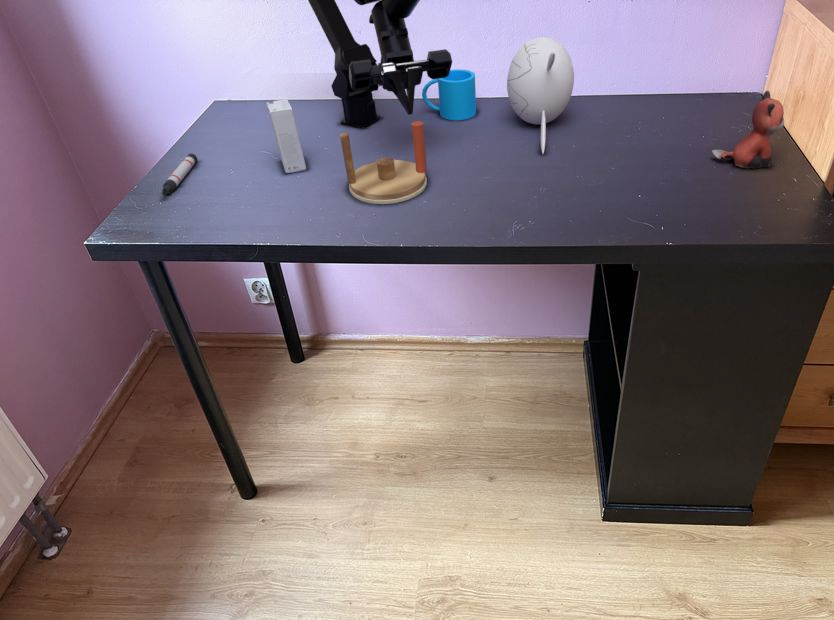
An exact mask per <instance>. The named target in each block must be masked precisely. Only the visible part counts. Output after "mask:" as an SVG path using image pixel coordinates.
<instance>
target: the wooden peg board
mask: <svg viewBox="0 0 834 620" xmlns="http://www.w3.org/2000/svg"><path fill="white" fill-rule="evenodd" d="M411 132H412V133H411V134H412V143H413V151H414V153H413V154H414V162H412V161H408V160H402V159H394V158H392V157H381V158H379V159H377V160H376V161H374V162H371V163H367V164H364V165H362V166H360V167H359V168H358V167H357V168H356V169H355V166H354V159H353V153H352V147H351V141H350V134H349V133H348V132H342V133H340V134H339V138H340V145H341V149H342V157H343V161H344V168H345V173H346V179H347V184H348V185H349V184H350V188H351V190H352V191H353V192H354V193H355V194H357V195H359V196H361V197H365V198H369V199H378V200H385V199H395V198H400V197H403V196H407V195H409V194H412V193H414V192H416V191H417V190H419V189H420V188H421V187H422V186H423V185H424V183H425V176H426V172H427V171H428V169H427V168H428V167H427V156H426V144H425V133H424V123H423V121H419V120H418V121H416V120H415V121H412V123H411Z"/></svg>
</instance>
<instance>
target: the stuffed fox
mask: <svg viewBox="0 0 834 620" xmlns="http://www.w3.org/2000/svg"><path fill="white" fill-rule="evenodd" d="M784 116H785V111H784V106H783V104H782V102H781V101H779V100H778V99H775V98H772V97H771V93H770V90H766V91H764V93H763V95H762V96H761V100H760V101H759V102H758V103H757V104H756V105H755V107H754V109H753V111H752V116H751V123H752V127H753V128H752V130H751V131H750V132H749V133H748V134H747V135H746V136H745V137H744V138H742V139H741V140H739V142H738V143H736V144H735V146H734V147H733V148H732V150H731V151H726V150H724V149H712V150H711V153H712V154H713V156H714V157H715V158H716V159H718V160H721V161H722V160H723V161H732V160H733V161H734V165H735V167H736V166H738V167H740V168H743V169H744V168H745V169H748V170H749V169H754V170H755V169H759V168H768V167H770V166H771V165H772V163H771V161H772V150H771V144H770V139H771V136H772V135H774V134H776V133H778V132H779V131H781V130H782V129H783V127H784V125H785V119H784Z"/></svg>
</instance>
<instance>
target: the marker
mask: <svg viewBox="0 0 834 620" xmlns="http://www.w3.org/2000/svg"><path fill="white" fill-rule="evenodd" d="M197 162H198V157H197V155H195V154H194V153H188V154H187V156H186V157H185V158H183V160H181V162H180V163H179V165H178V166H177V167H176V168H175V170H174V171H173V172H172V173H171V174H170V176H169V177H168V178H167V179H166V181H165V182H164V184H163V185H162V190H161V194H163V195H168V194H170V193H173V192H174V191H175V189H177V187H178V186H179V185H180V183H182V181H183V180H184V178H185V177H186V176H187V175H188V174H189V172H190V171H191V169H192V168H193V167H194V166H195V164H196V163H197Z"/></svg>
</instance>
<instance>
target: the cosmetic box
mask: <svg viewBox="0 0 834 620" xmlns="http://www.w3.org/2000/svg"><path fill="white" fill-rule="evenodd" d="M266 107H267V112H268V115H269V119H270V123H271V126H272V130H273V134H274V137H275V141H276V144H277V149H278V152H279V153H278V154H279V156H280V160H281V163H282V166H283V169H284V172H285V174H293V173H298V172H303V171H306V170H307V165H306V160H305V157H304V153H303V148H302V143H301V140H300V135H299V131H298V127H297V124H296V120H295V115H294V109H293V108H292V106H291V104H290V102H289V100H288V98H283V99H278V100H273V101H268V102H266Z"/></svg>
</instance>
